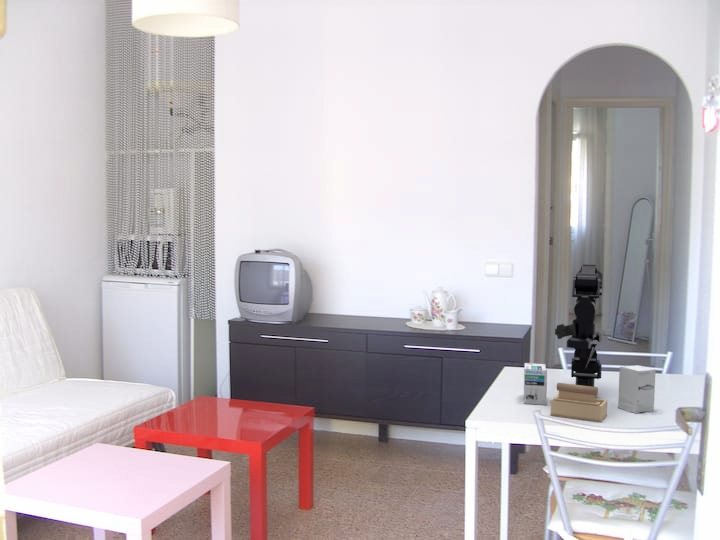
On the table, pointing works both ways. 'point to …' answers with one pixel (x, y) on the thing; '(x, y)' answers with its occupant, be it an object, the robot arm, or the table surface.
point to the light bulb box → (535, 383)
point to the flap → (577, 393)
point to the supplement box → (636, 388)
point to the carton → (579, 410)
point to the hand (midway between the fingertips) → (583, 368)
